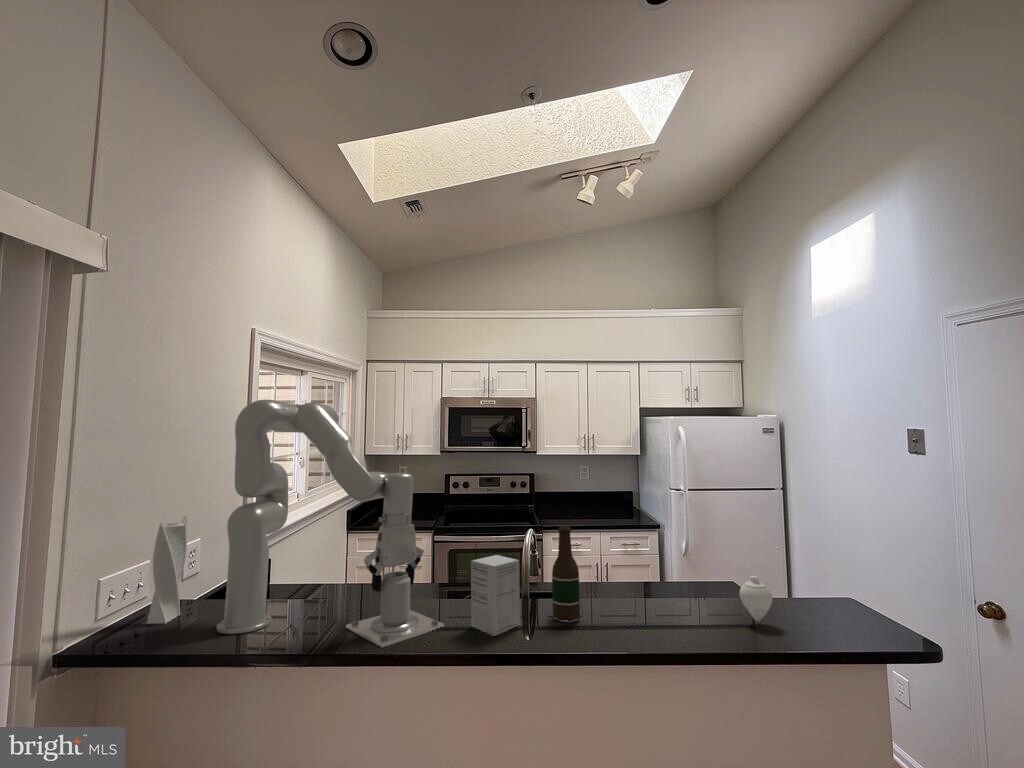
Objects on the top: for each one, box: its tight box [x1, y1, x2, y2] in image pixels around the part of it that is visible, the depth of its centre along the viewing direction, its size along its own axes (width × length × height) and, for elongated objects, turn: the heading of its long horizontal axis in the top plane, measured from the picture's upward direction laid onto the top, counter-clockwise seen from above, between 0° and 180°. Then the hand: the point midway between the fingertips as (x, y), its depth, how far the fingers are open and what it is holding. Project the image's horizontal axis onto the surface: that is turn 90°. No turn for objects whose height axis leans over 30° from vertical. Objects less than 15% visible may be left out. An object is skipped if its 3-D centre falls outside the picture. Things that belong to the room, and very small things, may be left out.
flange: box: [345, 609, 445, 648], centre depth 121 cm, size 18×18×2 cm
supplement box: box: [470, 554, 521, 637], centre depth 122 cm, size 10×9×17 cm
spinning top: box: [739, 575, 774, 622], centre depth 121 cm, size 8×8×12 cm
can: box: [380, 570, 411, 626], centre depth 122 cm, size 8×8×12 cm
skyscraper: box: [141, 515, 188, 625], centre depth 130 cm, size 8×8×28 cm
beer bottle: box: [551, 525, 581, 621], centre depth 128 cm, size 8×8×24 cm
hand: (393, 587), depth 123 cm, fingers open, 9 cm apart
